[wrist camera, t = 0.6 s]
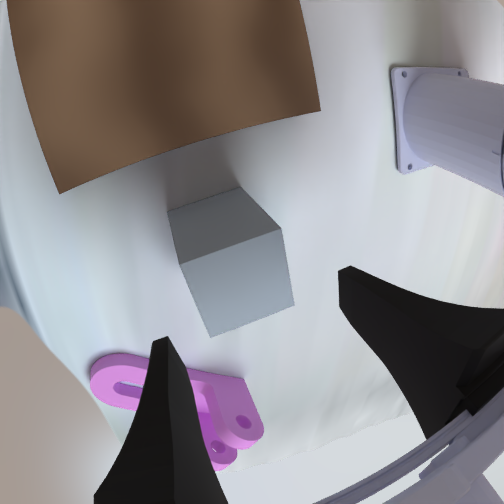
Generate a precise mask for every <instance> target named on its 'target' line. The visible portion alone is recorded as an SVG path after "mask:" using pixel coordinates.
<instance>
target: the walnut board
mask: <svg viewBox="0 0 504 504" xmlns="http://www.w3.org/2000/svg"><path fill="white" fill-rule="evenodd" d="M7 8H8V16H9V23H10V29H11V35H12V40H13V46H14V51H15V56H16V60H17V65H18V69H19V74H20V78H21V82H22V86H23V90H24V93H25V97H26V101H27V104H28V108H29V111H30V114H31V118H32V121H33V124H34V127H35V130H36V133H37V136H38V139H39V142H40V145H41V148H42V151H43V153H44V156H45V159H46V162H47V164H48V167H49V170H50V172H51V175H52V177H53V180H54V182H55V185H56V187H57V190H58V192H59V194H61V193H63V192H66V191H68V190H70V189H72V188H75V187H77V186H79V185H81V184H84V183H86V182H88V181H91V180H93V179H95V178H98V177H100V176H103V175H105V174H108V173H110V172H113V171H115V170H118V169H120V168H123V167H125V166H128V165H131V164H133V163H136V162H139V161H141V160H144V159H147V158H150V157H152V156H155V155H158V154H161V153H164V152H167V151H170V150H173V149H176V148H179V147H182V146H185V145H188V144H191V143H195V142H198V141H201V140H204V139H208V138H211V137H214V136H218V135H221V134H225V133H229V132H232V131H236V130H240V129H243V128H247V127H251V126H255V125H259V124H263V123H267V122H271V121H276V120H280V119H284V118H289V117H293V116H298V115H303V114H308V113H313V112H318V111H321V108H320V102H319V96H318V90H317V84H316V78H315V73H314V67H313V62H312V57H311V52H310V47H309V42H308V37H307V32H306V27H305V23H304V18H303V14H302V10H301V5H300V1H299V0H7Z"/></svg>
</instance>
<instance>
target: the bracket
mask: <svg viewBox="0 0 504 504" xmlns="http://www.w3.org/2000/svg"><path fill="white" fill-rule="evenodd" d="M148 364H149V359H147V358H143V357H140V356H136V355H132V354H124V353H119V354H111V355H107V356H104V357H102V358H100V359H99V360H97V361H96V362H95V363H94V365H93V366H92V368H91V376H90V387H91V390H92V392H93V394H94V395H95V396H96V397H97V398H98V399H99V400H101V401H102V402H104V403H106V404H108V405H111V406H115V407H119V408H124V409H129V410H134V411H137V408H138V404H139V401H140V397H141V394H142V390H143V388H138V387H134V386H129V385H125V384H121V383H118V382H120V381H127V382H131V383H135V384H140V385H144V382H145V377H146V373H147V369H148ZM186 369H187V372H188V375H189V378H190V381H191V385H192V388H193V392H194V397H195V402H196V407H197V412H198V417H199V421H200V426H201V431H202V435H203V439H204V443H205V446H206V449H207V452H208V455H209V457H210V460H211V463H212V466H213V468H214V471H220V470H223V469H225V468H226V467H227V466H229V465H230V464H231V463H232V462H233V461H234V460H235V459H236V457H237V449H241V450H243V449H248V448H250V447H251V446H252V445H253V444H254V443H255V442H257V441H258V440H259V439H260V438H261V437H262V436H263V433H264V426H263V423H262V421H261V419H260V416H259V414H258V412H257V409H256V407H255V405H254V402H253V400H252V397H251V395H250V393H249V390H248V388H247V385H246V383H245V381H244V379H240V378H235V377H229V376H223V375H218V374H213V373H208V372H203V371H198V370H193V369H189V368H186ZM212 448H213V449H214V450H215V451H216V452H215V451H214V450H213V449H212Z"/></svg>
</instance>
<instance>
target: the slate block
mask: <svg viewBox="0 0 504 504" xmlns="http://www.w3.org/2000/svg"><path fill="white" fill-rule="evenodd" d="M167 213H168V218H169V222H170V227H171V231H172V235H173V240H174V244H175V248H176V253H177V257H178V261H179V265H180V267H181V270H182V272H183V275H184V277H185V280H186V282H187V285H188V287H189V289H190V292H191V294H192V297H193V299H194V301H195V304H196V306H197V308H198V311H199V313H200V315H201V318H202V320H203V322H204V325H205V327H206V329H207V331H208V334H209V336H210V338H211V337H214V336H217V335H219V334H222V333H225V332H227V331H230V330H233V329H235V328H238V327H241V326H243V325H246V324H249V323H251V322H254V321H256V320H259V319H261V318H264V317H267V316H269V315H272V314H274V313H277V312H279V311H282V310H284V309H286V308H289V307H291V306H294V300H293V293H292V287H291V281H290V275H289V269H288V263H287V258H286V252H285V246H284V240H283V235H282V229H281V228H280V226H279V225H278V224H277V223H276V222H275V221H274V220H273V219H272V218H271V217H270V216H269V215H268V214H267V213H266V212H265V211H264V210H263V209H262V208H261V207H260V206H259V205H258V204H257V203H256V202H255V201H254V200H253V199H252V198H251V197H250V196H249V195H248V194H247V193H246V192H245V191H244V190H243V189H242V188H241V187H239V188H236V189H233V190H230V191H227V192H224V193H221V194H218V195H215V196H212V197H209V198H206V199H203V200H200V201H197V202H194V203H191V204H188V205H185V206H182V207H180V208H177V209H174V210H171V211H168V212H167Z"/></svg>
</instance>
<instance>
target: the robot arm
mask: <svg viewBox="0 0 504 504" xmlns="http://www.w3.org/2000/svg"><path fill="white" fill-rule="evenodd" d="M402 72H403V76H402ZM391 78H392V87H393V96H394V107H395V119H396V135H397V157H398V171H399V172H400V173H402V174H407V173H410V172H414V171H417V170H420V169H424V168H427V167H430V166H434V165H436V166H438V167H441V168H443V169H445V170H448V171H450V172H452V173H455V174H457V175H459V176H461V177H463V178H466V179H468V180H470V181H472V182H474V183H476V184H478V185H481V186H483V187H485V188H487V189H489V190H491V191H493V192H495V193H497V194H499V195H501V196H503V197H504V85H502V84H498V83H493V82H488V81H483V80H478V79H472V78H469V75H468V71H467V70H466V69H460V68H439V67H395V68H393V69H392V71H391ZM408 165H409V167H408ZM338 281H339V307H340V309H341V310H342V312H343V313H344V315H345V317H346V318H347V320H348V321H349V323H350V324H351V325H352V327H353V328H354V329H355V330H356V331H357V333H358V334H359V335H360V336H361V337H362V338H363V340H364V341H365V342H366V343H367V344H368V345H369V347H370V348H371V349H372V350H373V351H374V352H375V354H376V355H377V356H378V357H379V358H380V359H381V361H382V362H383V363H384V365H385V366H386V367H387V369H388V370H389V372H390V373H391V375H392V376H393V378H394V380H395V381H396V383H397V384H398V386H399V388H400V389H401V391H402V393H403V394H404V396H405V398H406V399H407V401H408V403H409V405H410V407H411V409H412V410H413V412H414V414H415V416H416V418H417V420H418V422H419V424H420V426H421V428H422V431H423V433H424V435H425V438H426V439H427V440H426V441H425V442H423V443H422V444H420V445H419V446H417V447H416V448H414V449H413V450H411V451H410V452H408V453H407V454H405V455H404V456H402V457H401V458H399V459H398V460H396V461H394V462H393V463H391V464H389V465H388V466H386V467H384V468H383V469H381V470H379V471H378V472H376V473H374V474H372V475H371V476H369V477H367V478H365V479H363V480H361V481H359V482H358V483H356V484H354V485H352V486H350V487H348V488H346V489H344V490H342V491H340V492H338V493H336V494H333V495H331V496H329V497H327V498H325V499H323V500H320V501H318V502H316V503H313V504H356V503H358V502H360V501H362V500H364V499H366V498H368V497H369V496H371V495H373V494H375V493H377V492H378V491H380V490H382V489H384V488H385V487H387V486H388V485H390V484H392V483H394V482H395V481H397V480H399V479H400V478H401V477H403V476H405V475H406V474H408V473H409V472H411V471H412V470H414V469H415V468H417V467H418V466H420V465H421V464H423V463H424V462H426V461H427V460H428V459H430V458H431V457H432V456H434V455H435V454H437V453H438V452H439V451H441V450H442V449H443V448H445V447H446V446H447V445H448V444H449V446H448V447H447V448H446V449H445V450H444V451H443V452H441V453H440V454H439V455H438V456H437V457H435V458H434V459H433V460H432V461H431V463H430V464H429V465H428V466H427V467H426V468H425V469H424V470H423V471H422V472H421V473H420V474H419V477H420V479H421V480H420V481H418V482H417V483H415V484H414V485H412V486H411V487H409V488H408V489H406V490H404V491H403V492H401V493H400V494H398V495H396V496H394V497H393V498H391V499H390V500H388V501H386V502H385V503H383V504H504V502H503V501H502V499H501V498H500V497H499V495H498V494H497V493H496V491H495V490H494V489H493V487H492V486H491V485H490V483H489V482H488V481H487V479H486V478H485V476H484V475H483V474H482V473H483V472H484V471H485V470H486V469H487V468H488V467H489V466H490V465H491V464H492V463H493V462H494V461H495V460H496V459H497V458H498V457H499V455H501V453H502V452H503V451H504V309H497V308H478V307H469V306H463V305H457V304H452V303H447V302H443V301H439V300H435V299H432V298H428V297H425V296H422V295H419V294H416V293H413V292H410V291H408V290H405V289H403V288H400V287H398V286H395V285H393V284H391V283H388V282H386V281H384V280H381V279H379V278H377V277H375V276H373V275H370V274H368V273H366V272H364V271H362V270H359V269H357V268H355V267H353V266H348V267H346V268H344V269H341V270H339V271H338ZM94 504H228V502H227V500H226V497H225V495H224V493H223V490H222V488H221V486H220V483H219V481H218V478H217V476H216V473H215V471H214V468H213V466H212V463H211V460H210V457H209V455H208V452H207V449H206V446H205V443H204V439H203V435H202V431H201V426H200V421H199V417H198V412H197V407H196V402H195V397H194V392H193V388H192V385H191V381H190V378H189V375H188V372H187V369H186V366H185V365H184V363H183V361H182V360H181V358H180V356H179V355H178V353H177V351H176V349H175V348H174V346H173V344H172V342H171V341H170V339H169V337H168V336H167V337H164V338H161V339H158V340H155V341H153V343H152V347H151V353H150V359H149V364H148V369H147V373H146V377H145V382H144V386H143V390H142V394H141V397H140V401H139V404H138V408H137V411H136V414H135V417H134V420H133V422H132V425H131V428H130V430H129V433H128V435H127V437H126V440H125V442H124V444H123V446H122V449H121V451H120V453H119V455H118V456H117V458H116V460H115V462H114V464H113V466H112V468H111V469H110V471H109V473H108V475H107V476H106V478H105V479H104V481H103V482H102V484H101V485H100V487H99V488H98V490H97V491H96V493H95V494H94Z"/></svg>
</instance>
